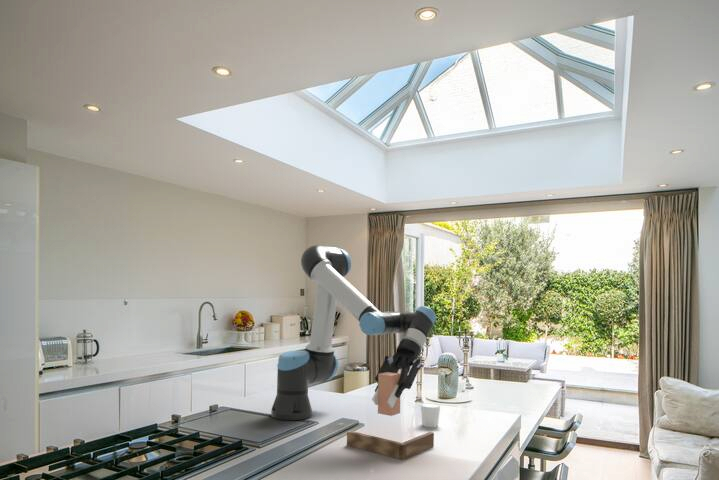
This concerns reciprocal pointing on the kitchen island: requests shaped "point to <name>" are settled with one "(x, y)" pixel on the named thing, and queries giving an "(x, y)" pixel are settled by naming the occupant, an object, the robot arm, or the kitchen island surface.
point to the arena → (391, 444)
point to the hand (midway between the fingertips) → (382, 403)
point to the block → (387, 393)
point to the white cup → (430, 415)
